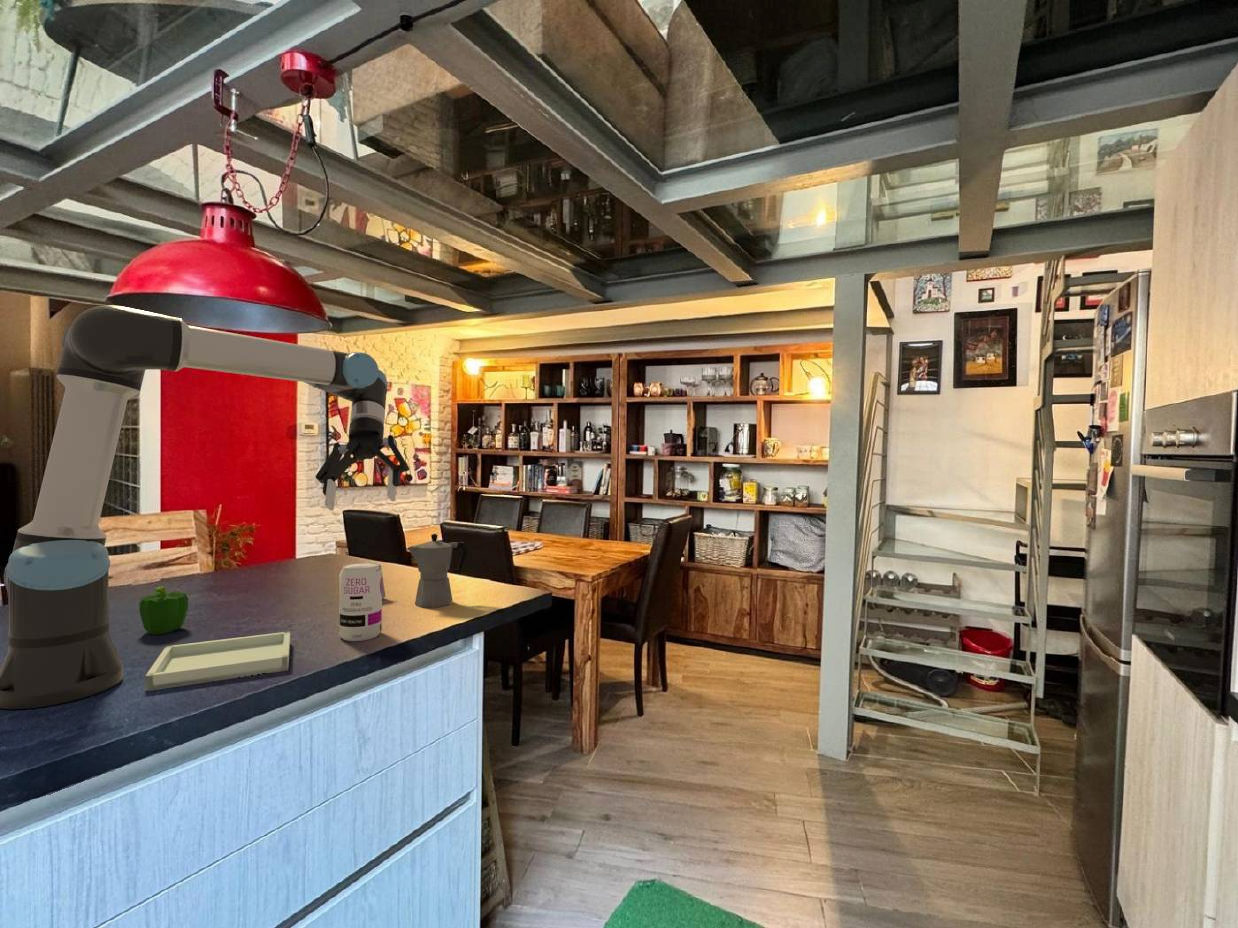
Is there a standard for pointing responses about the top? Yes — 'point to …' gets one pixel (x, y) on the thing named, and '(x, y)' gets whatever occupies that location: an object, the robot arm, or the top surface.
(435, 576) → the coffeepot
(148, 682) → the tray
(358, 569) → the supplement can
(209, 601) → the top surface
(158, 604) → the bell pepper
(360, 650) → the top surface
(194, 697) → the top surface
